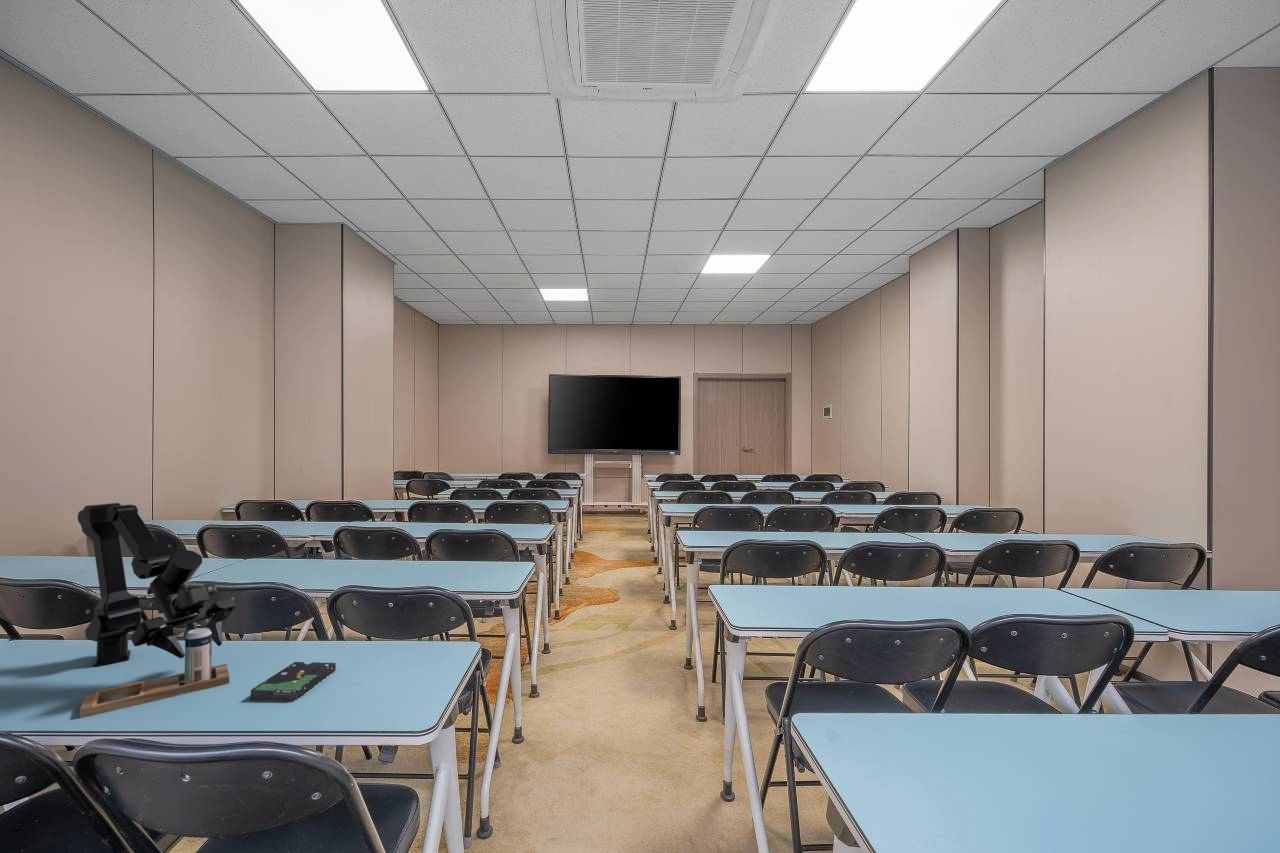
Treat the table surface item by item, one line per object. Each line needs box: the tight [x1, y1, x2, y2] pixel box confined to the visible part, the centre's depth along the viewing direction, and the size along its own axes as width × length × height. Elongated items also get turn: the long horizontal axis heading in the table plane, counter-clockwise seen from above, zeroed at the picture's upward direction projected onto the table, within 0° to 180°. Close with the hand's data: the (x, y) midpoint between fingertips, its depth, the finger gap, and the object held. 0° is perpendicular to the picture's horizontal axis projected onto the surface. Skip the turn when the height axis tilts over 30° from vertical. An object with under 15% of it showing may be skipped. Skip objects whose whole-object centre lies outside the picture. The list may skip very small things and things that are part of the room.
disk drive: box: [250, 661, 337, 702], centre depth 125 cm, size 10×3×15 cm
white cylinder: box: [183, 627, 213, 685], centre depth 125 cm, size 5×5×12 cm
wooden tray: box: [79, 663, 230, 719], centre depth 121 cm, size 9×24×2 cm, turn 130°
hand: (202, 650), depth 124 cm, fingers open, 7 cm apart
